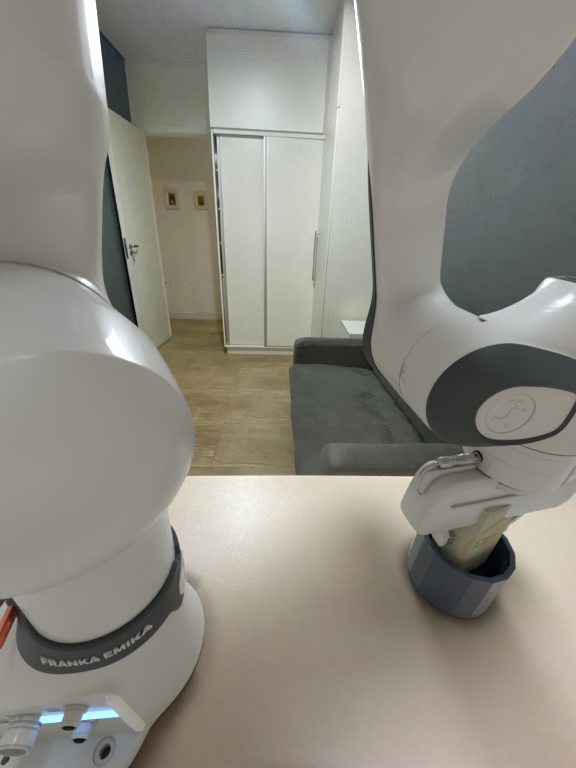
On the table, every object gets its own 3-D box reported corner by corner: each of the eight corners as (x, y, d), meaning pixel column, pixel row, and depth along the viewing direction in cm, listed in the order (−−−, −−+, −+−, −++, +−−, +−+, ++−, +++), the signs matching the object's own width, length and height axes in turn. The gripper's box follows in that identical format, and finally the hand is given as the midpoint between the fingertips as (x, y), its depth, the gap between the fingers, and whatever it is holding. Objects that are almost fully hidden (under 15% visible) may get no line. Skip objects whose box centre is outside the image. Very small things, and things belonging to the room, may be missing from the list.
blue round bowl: (438, 628, 36) (461, 591, 32) (392, 546, 45) (405, 509, 41) (509, 607, 39) (538, 571, 35) (452, 533, 47) (470, 497, 44)
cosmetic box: (451, 582, 37) (489, 516, 31) (423, 549, 41) (453, 484, 35) (486, 562, 40) (527, 497, 34) (457, 533, 43) (490, 469, 37)
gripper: (448, 486, 26) (408, 578, 33) (623, 456, 31) (555, 542, 37) (406, 438, 31) (379, 526, 38) (560, 419, 36) (511, 500, 43)
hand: (468, 534), depth 38 cm, fingers closed on cosmetic box, 6 cm apart
